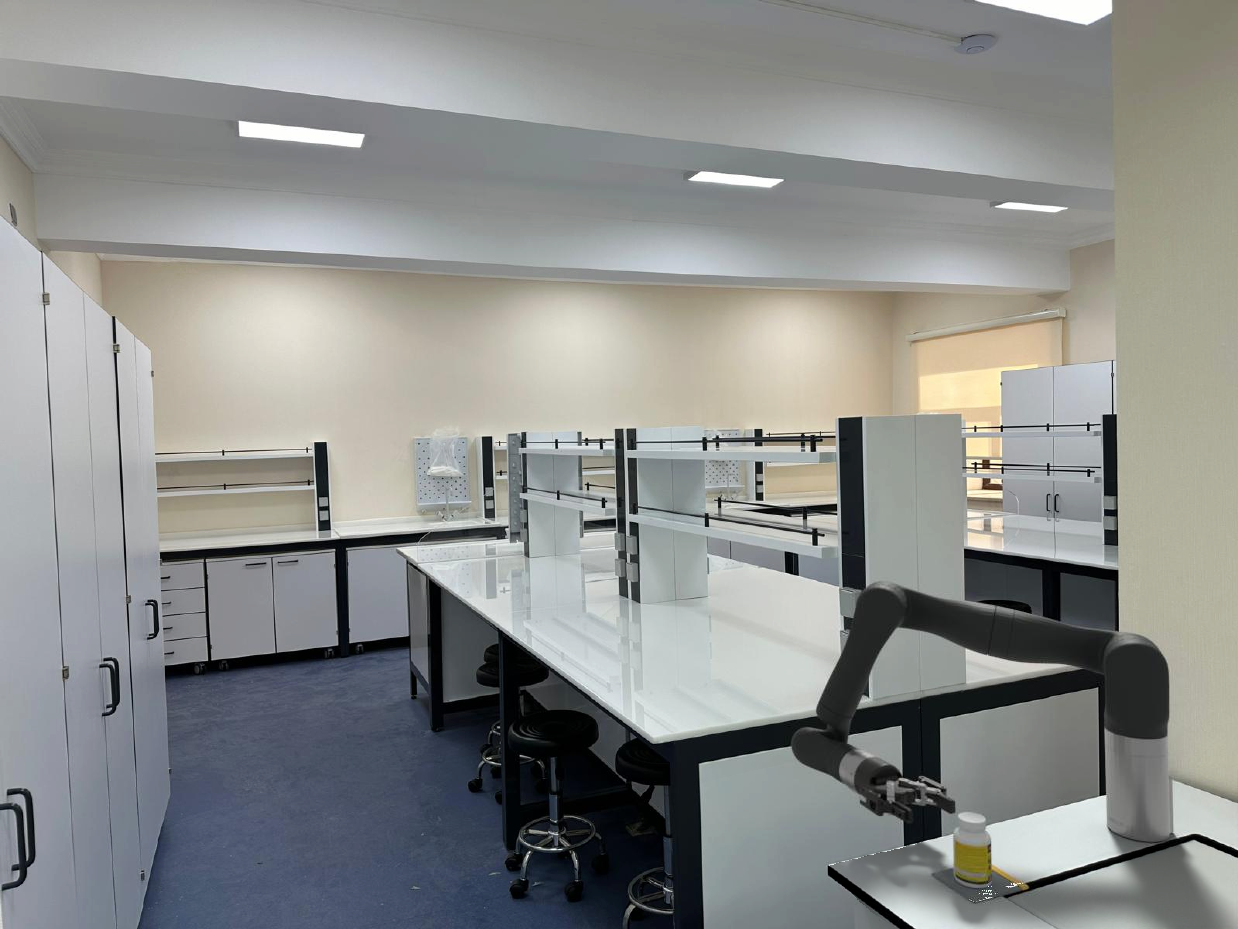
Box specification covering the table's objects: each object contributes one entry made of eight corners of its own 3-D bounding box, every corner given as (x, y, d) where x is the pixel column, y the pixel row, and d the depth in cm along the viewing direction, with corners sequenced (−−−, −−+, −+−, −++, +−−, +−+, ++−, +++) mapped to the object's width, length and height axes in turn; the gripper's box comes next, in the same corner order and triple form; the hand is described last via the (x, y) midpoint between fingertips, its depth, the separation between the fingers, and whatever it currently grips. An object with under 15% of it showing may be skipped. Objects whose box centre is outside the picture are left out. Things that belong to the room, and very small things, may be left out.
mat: (983, 861, 134) (983, 859, 134) (1028, 888, 126) (1028, 886, 126) (931, 875, 131) (931, 872, 131) (974, 903, 122) (974, 900, 122)
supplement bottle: (996, 891, 125) (994, 826, 125) (957, 888, 126) (956, 824, 126) (987, 873, 130) (986, 810, 130) (950, 870, 131) (949, 808, 131)
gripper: (836, 762, 148) (896, 797, 133) (901, 750, 153) (967, 782, 138) (837, 804, 149) (897, 844, 133) (902, 791, 154) (968, 827, 138)
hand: (932, 812), depth 136 cm, fingers open, 8 cm apart
